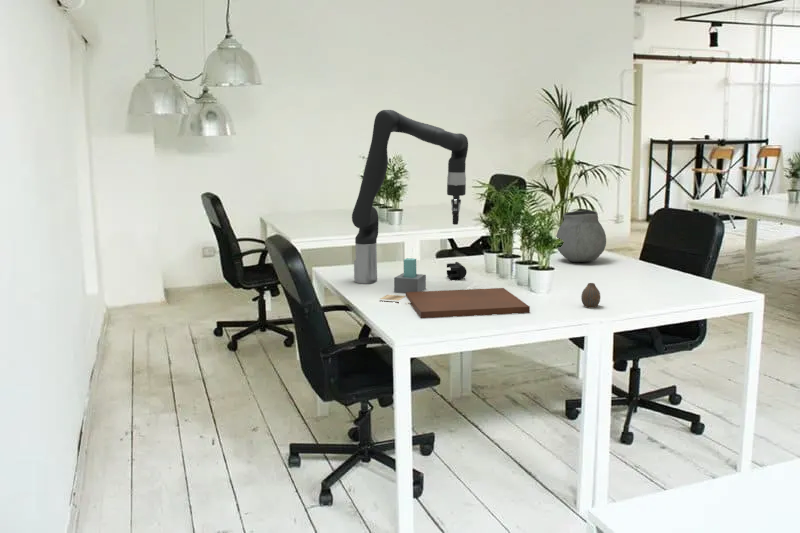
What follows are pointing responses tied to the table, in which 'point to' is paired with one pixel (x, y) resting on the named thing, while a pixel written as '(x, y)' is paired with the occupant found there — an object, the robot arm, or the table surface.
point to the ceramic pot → (581, 236)
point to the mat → (392, 298)
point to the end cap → (456, 271)
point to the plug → (410, 267)
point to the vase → (590, 296)
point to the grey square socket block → (409, 283)
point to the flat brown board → (465, 302)
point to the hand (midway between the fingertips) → (455, 223)
